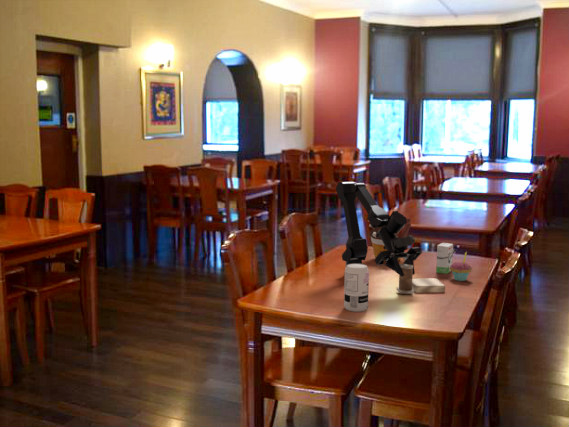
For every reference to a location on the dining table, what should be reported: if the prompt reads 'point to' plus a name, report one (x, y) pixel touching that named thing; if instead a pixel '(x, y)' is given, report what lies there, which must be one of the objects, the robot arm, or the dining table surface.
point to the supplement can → (356, 287)
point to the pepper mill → (406, 279)
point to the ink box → (444, 258)
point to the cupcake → (460, 270)
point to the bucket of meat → (378, 242)
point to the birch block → (427, 285)
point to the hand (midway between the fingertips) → (408, 275)
